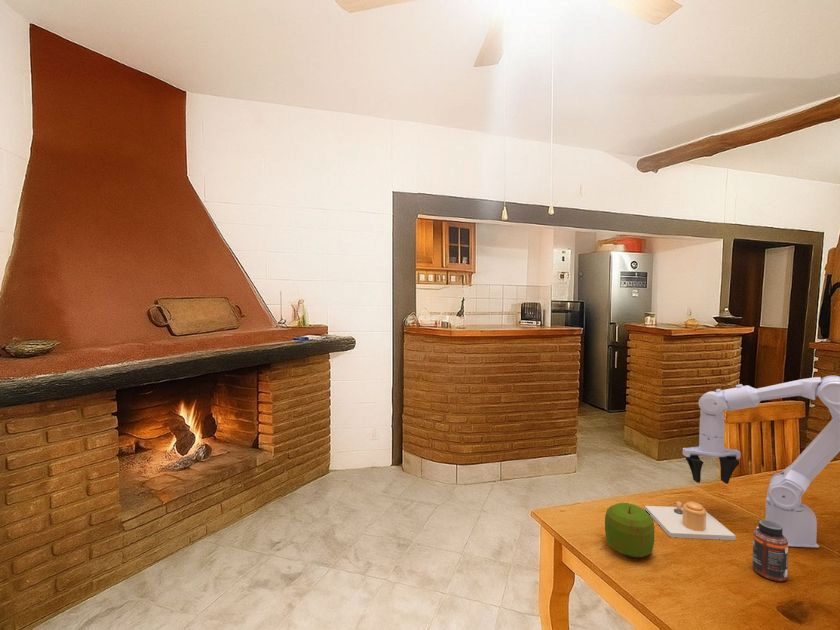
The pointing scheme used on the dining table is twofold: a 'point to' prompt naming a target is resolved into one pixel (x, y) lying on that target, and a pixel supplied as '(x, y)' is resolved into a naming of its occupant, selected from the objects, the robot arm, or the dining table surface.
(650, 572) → the dining table surface
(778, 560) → the supplement bottle
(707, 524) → the junction plate
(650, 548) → the apple
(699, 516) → the acorn nut
